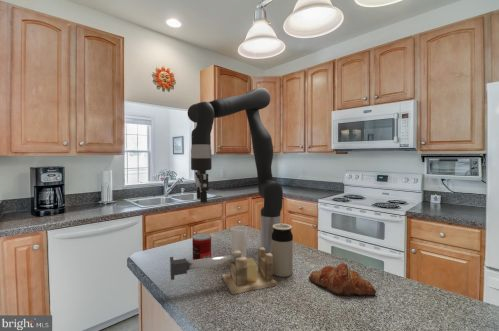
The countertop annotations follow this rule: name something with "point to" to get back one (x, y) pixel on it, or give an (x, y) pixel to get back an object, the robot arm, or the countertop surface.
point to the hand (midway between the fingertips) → (201, 200)
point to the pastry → (342, 281)
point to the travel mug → (282, 250)
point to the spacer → (251, 270)
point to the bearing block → (238, 273)
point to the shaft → (199, 263)
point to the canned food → (201, 246)
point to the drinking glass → (239, 239)
